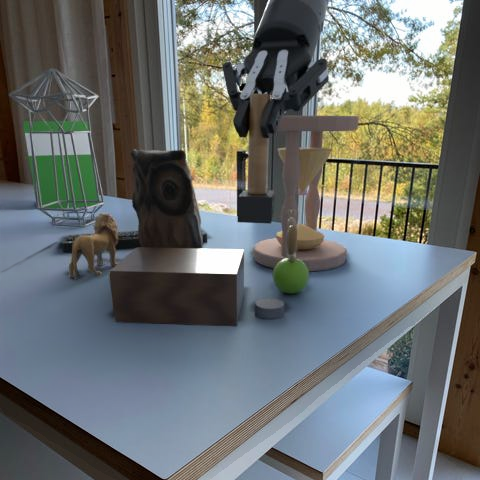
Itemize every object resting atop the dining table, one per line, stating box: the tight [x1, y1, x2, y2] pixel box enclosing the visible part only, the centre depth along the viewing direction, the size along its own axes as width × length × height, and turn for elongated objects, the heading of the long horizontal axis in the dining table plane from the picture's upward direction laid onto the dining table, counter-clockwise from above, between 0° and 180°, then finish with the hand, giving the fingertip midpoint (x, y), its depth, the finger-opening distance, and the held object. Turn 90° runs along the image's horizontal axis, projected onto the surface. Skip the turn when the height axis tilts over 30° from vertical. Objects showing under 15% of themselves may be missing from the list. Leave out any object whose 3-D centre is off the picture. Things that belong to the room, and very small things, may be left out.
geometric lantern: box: [8, 68, 105, 228], centre depth 113 cm, size 16×16×35 cm
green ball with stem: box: [272, 209, 310, 294], centre depth 71 cm, size 5×6×12 cm
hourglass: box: [252, 115, 360, 272], centre depth 86 cm, size 18×18×25 cm
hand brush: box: [237, 93, 275, 224], centre depth 57 cm, size 4×7×14 cm, turn 174°
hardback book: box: [22, 120, 98, 209], centre depth 141 cm, size 18×7×24 cm, turn 110°
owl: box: [130, 148, 204, 249], centre depth 83 cm, size 13×13×20 cm
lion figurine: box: [68, 212, 119, 281], centre depth 82 cm, size 15×5×9 cm, turn 171°
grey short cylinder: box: [254, 297, 285, 320], centre depth 64 cm, size 4×4×2 cm
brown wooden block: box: [108, 247, 245, 327], centre depth 66 cm, size 17×12×7 cm
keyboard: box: [61, 229, 208, 253], centre depth 103 cm, size 30×11×2 cm, turn 107°
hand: (252, 131), depth 54 cm, fingers closed on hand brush, 2 cm apart
